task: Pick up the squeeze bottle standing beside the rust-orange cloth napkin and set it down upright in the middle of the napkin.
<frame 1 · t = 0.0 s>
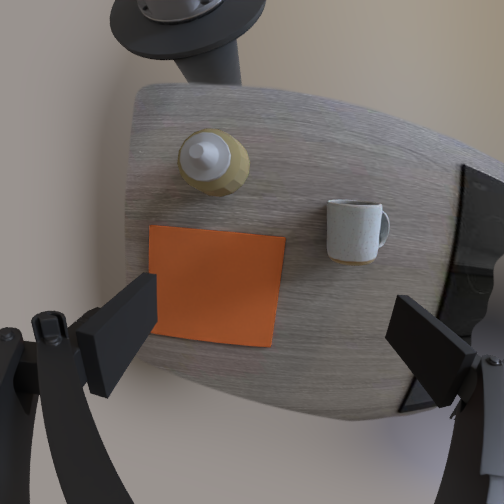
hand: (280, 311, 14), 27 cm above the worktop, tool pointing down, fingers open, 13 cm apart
ceramic mug: (353, 224, 40), on the worktop
napkin: (211, 289, 42), on the worktop
squeeze bottle: (221, 167, 38), on the worktop
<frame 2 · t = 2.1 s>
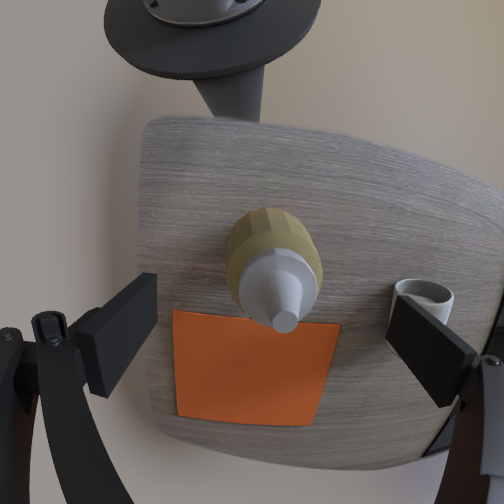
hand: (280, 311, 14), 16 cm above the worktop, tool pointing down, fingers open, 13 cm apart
ceramic mug: (412, 303, 32), on the worktop
napkin: (250, 378, 34), on the worktop
squeeze bottle: (267, 242, 30), on the worktop
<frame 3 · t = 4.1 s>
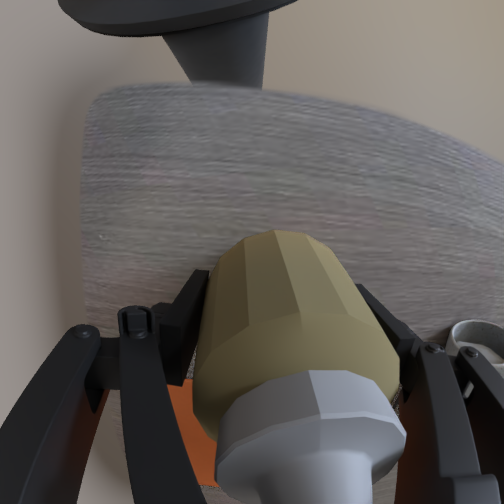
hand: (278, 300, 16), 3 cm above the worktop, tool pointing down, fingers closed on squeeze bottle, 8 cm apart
ceramic mug: (461, 349, 21), on the worktop
napkin: (249, 448, 23), on the worktop
squeeze bottle: (274, 281, 19), on the worktop, touching gripper
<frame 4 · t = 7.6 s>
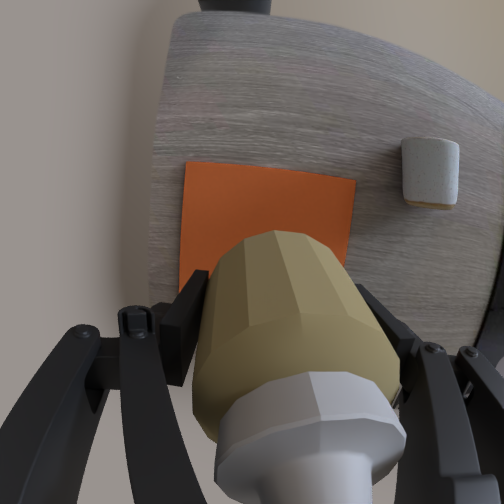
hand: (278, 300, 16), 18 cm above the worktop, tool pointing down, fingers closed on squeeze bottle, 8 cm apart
ceramic mug: (422, 172, 31), on the worktop
napkin: (264, 245, 33), on the worktop
squeeze bottle: (274, 281, 19), point 15 cm above the worktop, touching gripper
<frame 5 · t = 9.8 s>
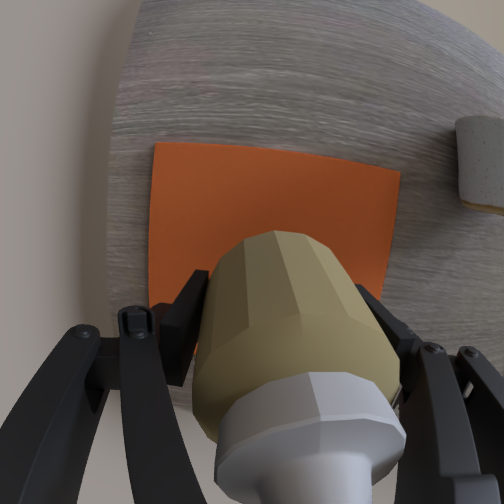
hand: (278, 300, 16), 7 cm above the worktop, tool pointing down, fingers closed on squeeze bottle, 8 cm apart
ceramic mug: (475, 165, 20), on the worktop
napkin: (270, 265, 23), on the worktop
squeeze bottle: (274, 281, 19), point 4 cm above the worktop, touching gripper
when the fingers open (4 cm above the worktop, at t = 11.2 s): squeeze bottle stays where it is, resting on napkin.
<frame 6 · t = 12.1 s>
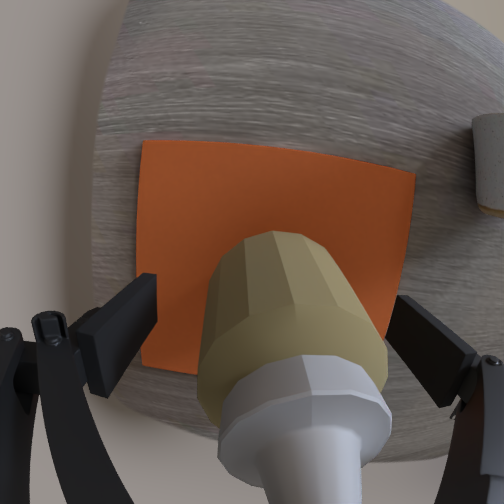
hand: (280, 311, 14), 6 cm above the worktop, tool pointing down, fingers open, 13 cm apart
ceramic mug: (491, 168, 18), on the worktop
napkin: (272, 278, 20), on the worktop
squeeze bottle: (272, 279, 20), resting on napkin
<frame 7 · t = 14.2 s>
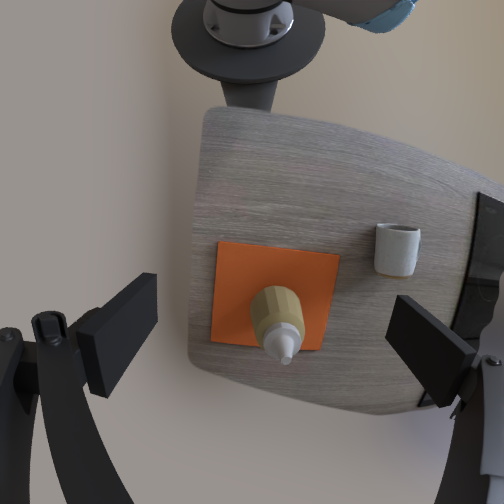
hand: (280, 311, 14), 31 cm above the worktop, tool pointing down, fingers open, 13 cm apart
ceramic mug: (392, 244, 45), on the worktop
napkin: (273, 300, 47), on the worktop
squeeze bottle: (273, 301, 47), resting on napkin
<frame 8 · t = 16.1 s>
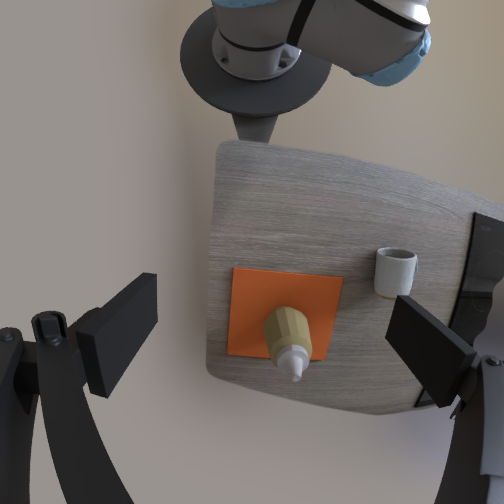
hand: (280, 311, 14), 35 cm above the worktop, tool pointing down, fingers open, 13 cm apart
ceramic mug: (391, 265, 50), on the worktop
napkin: (283, 318, 52), on the worktop
squeeze bottle: (283, 318, 52), resting on napkin
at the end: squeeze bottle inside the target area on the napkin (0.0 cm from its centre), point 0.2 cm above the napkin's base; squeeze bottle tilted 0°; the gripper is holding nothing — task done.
